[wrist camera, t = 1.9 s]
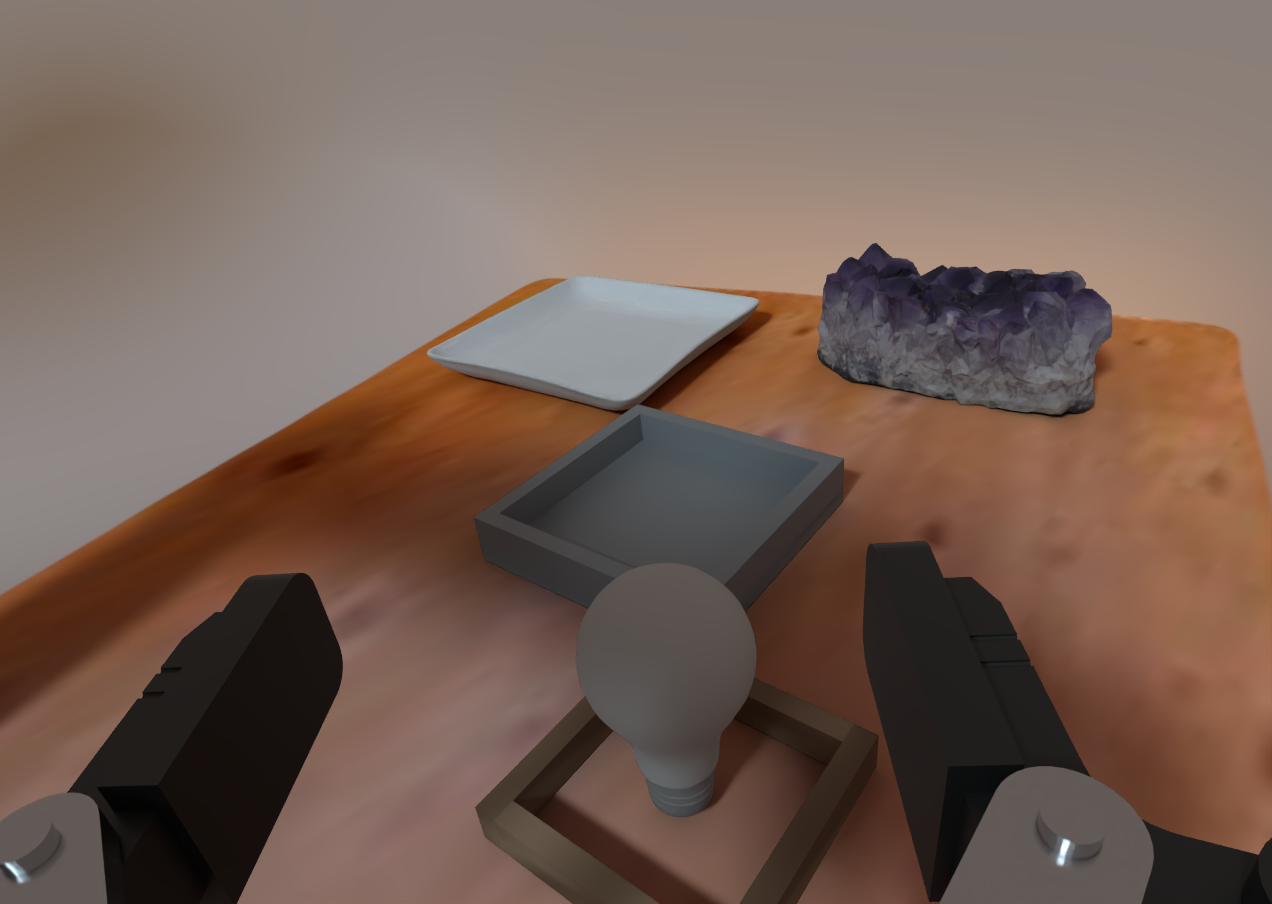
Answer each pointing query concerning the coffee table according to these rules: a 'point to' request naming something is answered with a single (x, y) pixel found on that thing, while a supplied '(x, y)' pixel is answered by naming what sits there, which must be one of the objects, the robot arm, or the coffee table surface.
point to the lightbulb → (668, 674)
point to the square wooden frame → (612, 899)
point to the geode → (965, 333)
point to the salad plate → (596, 339)
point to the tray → (663, 507)
